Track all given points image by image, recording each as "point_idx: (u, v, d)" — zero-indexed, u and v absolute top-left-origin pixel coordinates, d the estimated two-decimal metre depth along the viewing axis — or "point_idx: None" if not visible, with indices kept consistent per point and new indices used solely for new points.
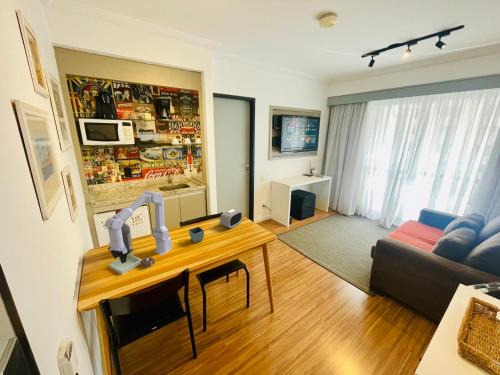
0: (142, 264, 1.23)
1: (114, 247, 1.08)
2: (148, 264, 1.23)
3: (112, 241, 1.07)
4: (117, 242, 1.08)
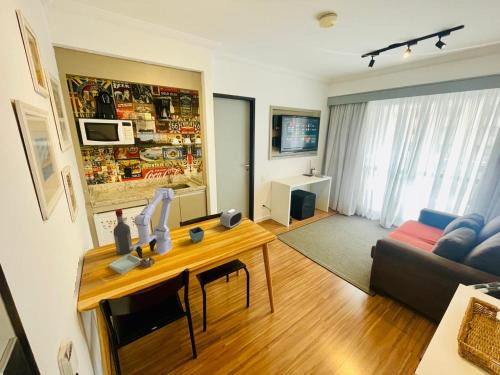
0: (142, 264, 1.23)
1: None
2: (148, 264, 1.23)
3: None
4: (139, 237, 1.18)
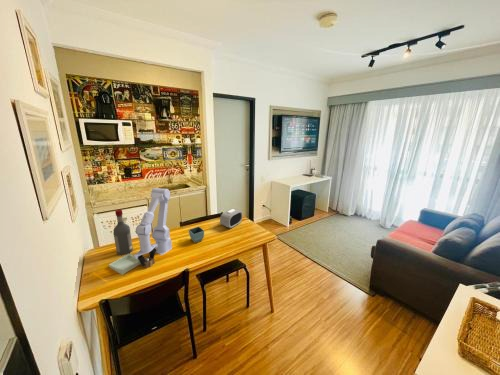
0: None
1: None
2: (148, 264, 1.23)
3: None
4: (140, 246, 1.20)
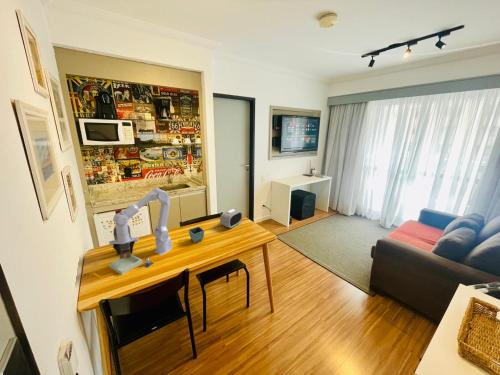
0: None
1: None
2: (122, 256, 1.19)
3: None
4: None
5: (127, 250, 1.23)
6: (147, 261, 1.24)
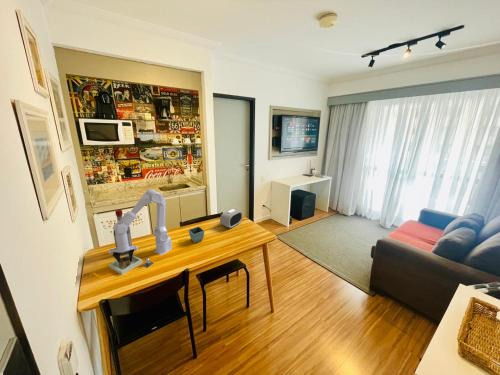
0: None
1: None
2: (121, 264, 1.20)
3: None
4: None
5: (127, 258, 1.25)
6: (147, 261, 1.24)
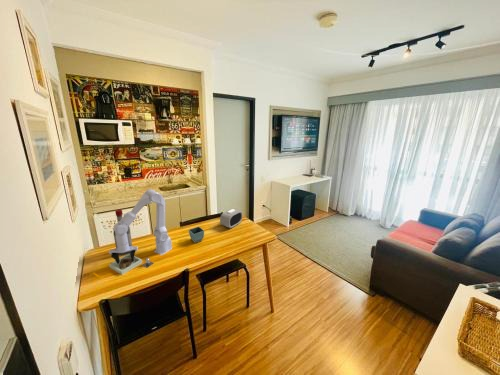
0: None
1: None
2: (121, 265, 1.21)
3: None
4: None
5: (127, 260, 1.25)
6: (147, 261, 1.24)
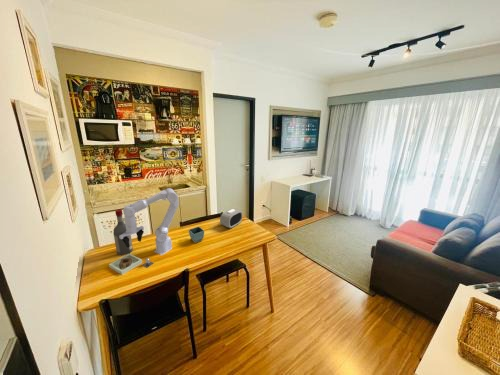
0: None
1: None
2: (121, 265, 1.21)
3: None
4: (126, 227, 1.23)
5: (127, 260, 1.25)
6: (147, 261, 1.24)
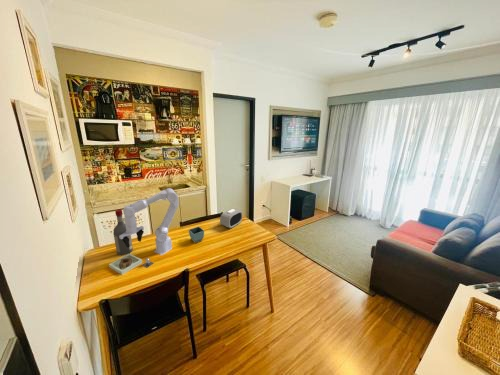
0: None
1: None
2: (121, 265, 1.21)
3: None
4: (126, 227, 1.23)
5: (127, 260, 1.25)
6: (147, 261, 1.24)
